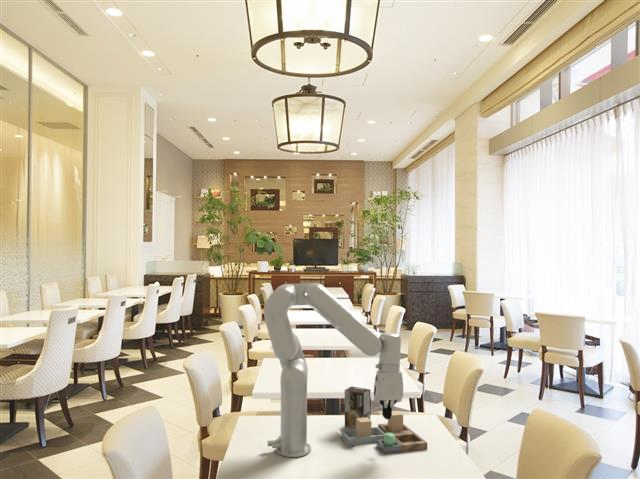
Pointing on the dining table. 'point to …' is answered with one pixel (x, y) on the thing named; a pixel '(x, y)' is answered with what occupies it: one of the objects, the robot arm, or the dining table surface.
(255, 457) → the dining table surface
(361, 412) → the coffee box
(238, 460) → the dining table surface
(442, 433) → the dining table surface
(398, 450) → the grey square socket
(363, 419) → the block
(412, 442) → the brown divided tray
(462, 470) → the dining table surface
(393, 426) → the seated block
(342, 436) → the tote frame
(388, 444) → the button
